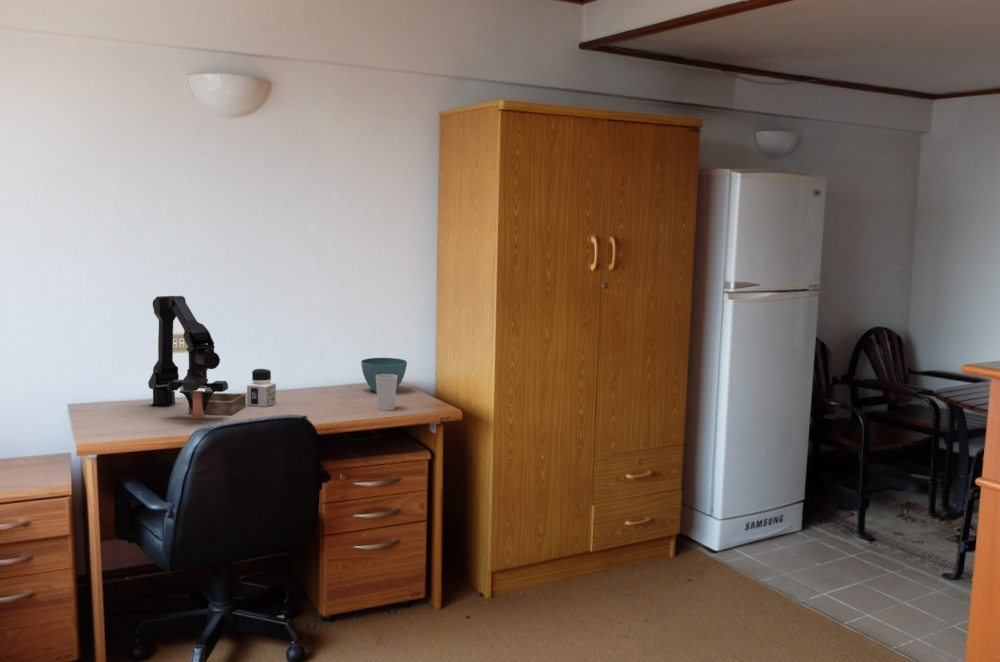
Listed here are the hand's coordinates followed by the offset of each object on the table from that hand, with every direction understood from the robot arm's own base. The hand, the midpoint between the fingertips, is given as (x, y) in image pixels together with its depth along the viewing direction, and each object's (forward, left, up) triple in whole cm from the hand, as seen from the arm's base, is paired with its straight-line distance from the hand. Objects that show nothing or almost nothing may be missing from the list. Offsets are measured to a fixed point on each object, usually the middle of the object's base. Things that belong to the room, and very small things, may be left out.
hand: (198, 410), depth 291 cm
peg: (0, 0, -2) cm, 2 cm away
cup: (+60, +25, -3) cm, 65 cm away
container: (+14, +25, -3) cm, 29 cm away
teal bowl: (+54, +57, -3) cm, 79 cm away
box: (+2, +13, -2) cm, 13 cm away
